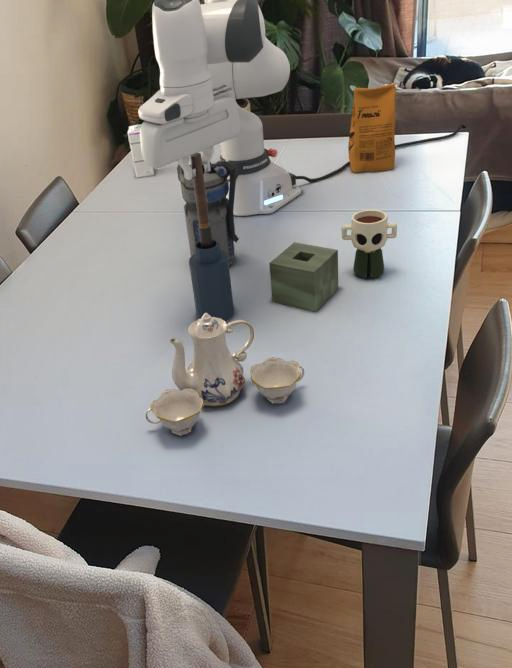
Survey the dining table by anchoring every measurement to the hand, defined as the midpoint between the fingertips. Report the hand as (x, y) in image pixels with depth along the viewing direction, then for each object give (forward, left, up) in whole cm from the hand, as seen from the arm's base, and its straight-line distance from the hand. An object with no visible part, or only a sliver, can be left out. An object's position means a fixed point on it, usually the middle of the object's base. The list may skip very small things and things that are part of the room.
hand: (197, 175), depth 130 cm
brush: (0, 0, -18) cm, 18 cm away
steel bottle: (0, 0, -30) cm, 30 cm away
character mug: (-32, +13, -30) cm, 46 cm away
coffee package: (-80, -26, -30) cm, 89 cm away
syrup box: (-41, -82, -30) cm, 96 cm away
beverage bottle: (-15, -17, -30) cm, 38 cm away
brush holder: (-17, +9, -30) cm, 36 cm away
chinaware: (+18, +23, -30) cm, 42 cm away
